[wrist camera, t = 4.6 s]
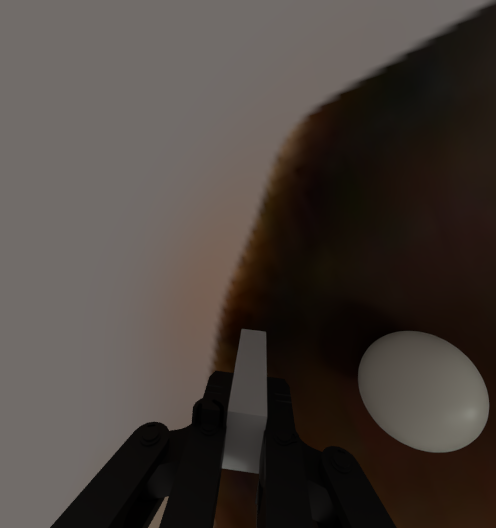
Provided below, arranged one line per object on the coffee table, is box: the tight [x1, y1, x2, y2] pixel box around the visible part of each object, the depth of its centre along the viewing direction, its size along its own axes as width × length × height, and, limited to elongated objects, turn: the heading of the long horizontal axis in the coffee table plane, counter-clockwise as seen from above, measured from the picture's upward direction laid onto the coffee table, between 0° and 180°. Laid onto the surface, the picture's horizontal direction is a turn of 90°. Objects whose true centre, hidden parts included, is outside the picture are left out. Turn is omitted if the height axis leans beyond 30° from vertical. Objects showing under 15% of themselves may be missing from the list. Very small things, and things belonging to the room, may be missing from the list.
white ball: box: [358, 331, 489, 452], centre depth 15 cm, size 6×6×6 cm
